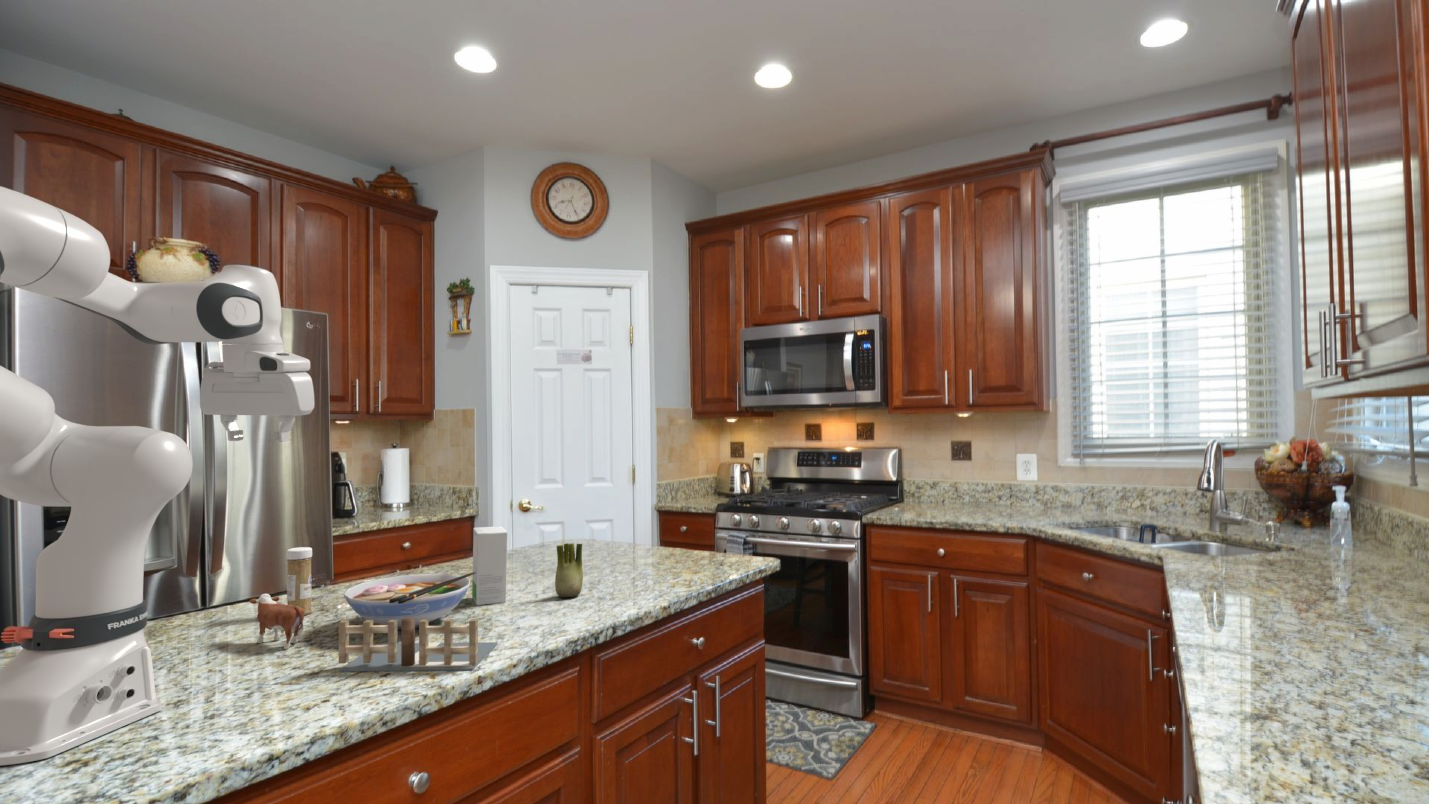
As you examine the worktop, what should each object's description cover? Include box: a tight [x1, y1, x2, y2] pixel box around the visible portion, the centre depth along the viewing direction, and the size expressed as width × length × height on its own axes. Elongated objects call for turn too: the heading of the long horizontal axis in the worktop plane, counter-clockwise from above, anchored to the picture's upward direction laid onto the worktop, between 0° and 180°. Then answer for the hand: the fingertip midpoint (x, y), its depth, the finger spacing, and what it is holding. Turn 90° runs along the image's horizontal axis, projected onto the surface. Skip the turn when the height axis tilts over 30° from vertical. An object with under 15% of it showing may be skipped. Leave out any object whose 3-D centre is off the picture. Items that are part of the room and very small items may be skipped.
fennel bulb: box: [554, 543, 584, 599], centre depth 158 cm, size 6×5×12 cm
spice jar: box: [285, 546, 313, 616], centre depth 146 cm, size 5×5×13 cm
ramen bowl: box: [342, 571, 475, 630], centre depth 138 cm, size 25×23×8 cm
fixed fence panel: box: [418, 618, 479, 665], centre depth 114 cm, size 9×1×7 cm, turn 90°
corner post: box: [400, 618, 416, 666], centre depth 114 cm, size 2×2×8 cm
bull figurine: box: [249, 593, 305, 650], centre depth 126 cm, size 4×13×8 cm, turn 59°
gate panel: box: [338, 619, 398, 664], centre depth 114 cm, size 9×1×6 cm, turn 90°
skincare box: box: [471, 525, 508, 606], centre depth 156 cm, size 8×7×16 cm
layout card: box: [338, 641, 498, 673], centre depth 118 cm, size 13×21×1 cm, turn 90°
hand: (258, 441), depth 123 cm, fingers open, 8 cm apart
